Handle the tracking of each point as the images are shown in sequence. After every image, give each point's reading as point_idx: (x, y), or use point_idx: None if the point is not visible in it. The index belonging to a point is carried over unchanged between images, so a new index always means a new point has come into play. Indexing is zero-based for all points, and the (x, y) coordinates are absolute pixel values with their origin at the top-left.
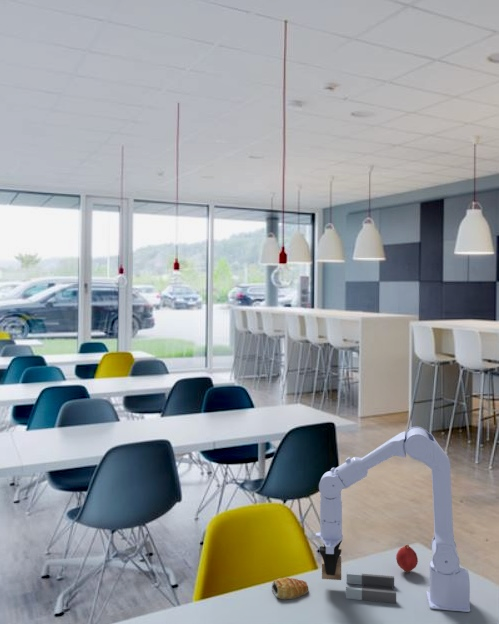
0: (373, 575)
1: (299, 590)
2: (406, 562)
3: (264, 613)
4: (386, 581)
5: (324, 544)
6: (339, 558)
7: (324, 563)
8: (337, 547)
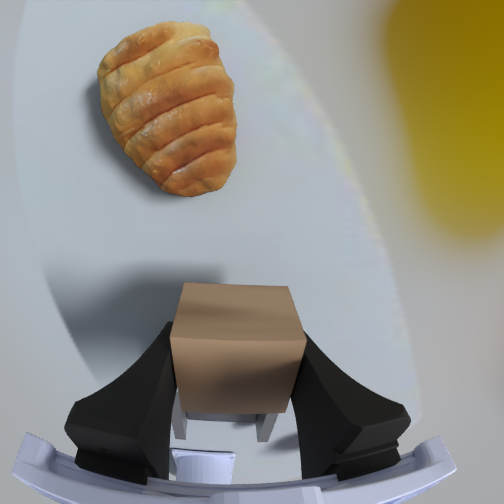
0: (271, 415)
1: (131, 158)
2: None
3: (35, 57)
4: (259, 424)
5: (67, 483)
6: (259, 408)
7: (138, 359)
8: (301, 440)
